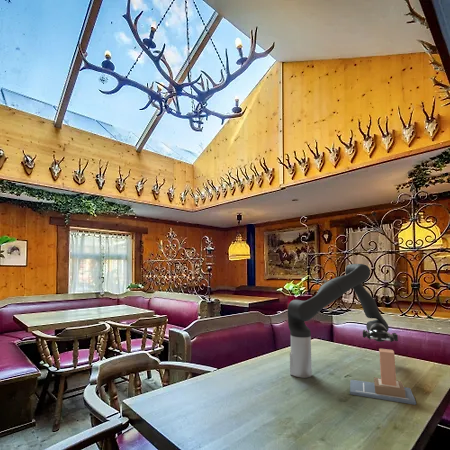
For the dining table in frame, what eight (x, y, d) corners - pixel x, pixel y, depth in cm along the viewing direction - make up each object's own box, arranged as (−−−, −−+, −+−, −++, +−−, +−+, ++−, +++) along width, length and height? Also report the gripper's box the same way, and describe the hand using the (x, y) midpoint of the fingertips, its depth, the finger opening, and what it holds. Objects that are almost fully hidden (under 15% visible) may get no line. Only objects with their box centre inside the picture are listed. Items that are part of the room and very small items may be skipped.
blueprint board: (349, 394, 118) (349, 383, 118) (350, 381, 131) (350, 372, 131) (416, 404, 109) (415, 392, 110) (410, 390, 122) (409, 380, 122)
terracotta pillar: (381, 383, 118) (379, 351, 120) (380, 379, 123) (379, 348, 124) (396, 386, 116) (394, 353, 118) (395, 381, 121) (393, 349, 122)
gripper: (362, 322, 152) (362, 327, 137) (395, 325, 146) (398, 331, 131) (362, 338, 151) (363, 345, 136) (395, 341, 145) (399, 349, 130)
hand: (380, 338), depth 134 cm, fingers open, 8 cm apart
